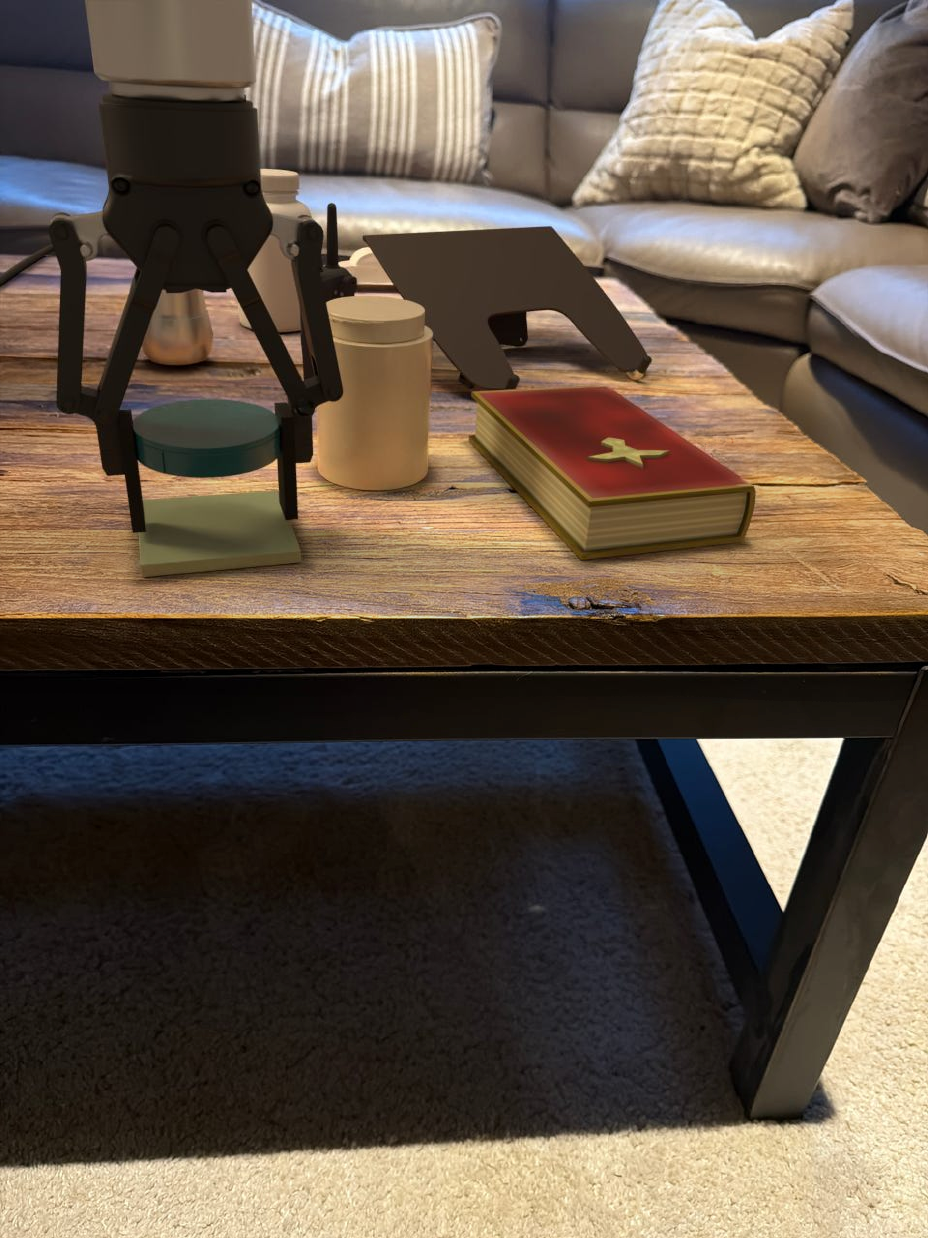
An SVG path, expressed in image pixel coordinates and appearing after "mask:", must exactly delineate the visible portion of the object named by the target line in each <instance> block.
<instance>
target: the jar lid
mask: <svg viewBox="0 0 928 1238" xmlns="http://www.w3.org/2000/svg"><path fill="white" fill-rule="evenodd" d="M133 433H134V441H135V448H136V456H137V460H138V463H140V464H141V465H142V466H144V467H146V468H147V469H149V470H151V471H154V472H157V473H160V474H164V475H169V476H174V477H180V478H190V479H191V478H192V479H193V478H194V479H210V478H211V479H212V478H226V477H232V476H234V477H235V476H239V475H243V474H248V473H251V472H254V471H258V470H261V469H263V468H265V467H267V466H270V465H271V464H272V463H274V462H275V461H277V458H278V457H279V455H280V453H281V434H280V422H279V419H278V417H277V415H276V414H275V412H273V411H272V410H270V409H268V408H266V407H263V406H261V405H258V404H255V403H251V402H245V401H240V400H232V399H218V398H216V399H214V398H208V399H207V398H205V399H203V398H202V399H201V398H200V399H188V400H181V401H179V400H178V401H174V402H167V403H165V404H164V403H163V404H161V405H157V406H154V407H151V408H149V409H146V410H144V411H142V412H141V413H139V414H137V416H136V417H135V418H134V419H133Z"/></svg>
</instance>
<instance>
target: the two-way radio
mask: <svg viewBox="0 0 928 1238" xmlns="http://www.w3.org/2000/svg"><path fill="white" fill-rule="evenodd" d="M338 231H339V230H338V211H337V205H336V203H333V202H330V203H328V204H327V206H326V264H325V265H324V261H323V258H322V256H321V259H320V266H319V270H320V275H321V280H322V285H323V290H324V295H325V300H326V302H328V301H330V300H333V299H337V298H342V297H351V296H355V293H356V292H357V289H358V284H357V278H356V277H354V276H352V274H350V273H349V271H348V270H347V269H345V268H344V267H340V266H339V264H338V262H339V232H338ZM300 323H301V330H300V347H301V359H302V376H303V378H302V380H303V381H304V380H307V379H309V378H312V377H314V376H315V375H314V371H313V366H312V361H311V357H310V352H309V347H308V343H307V338H306V333H305V329H304V324H303V319H302V315H301V310H300Z"/></svg>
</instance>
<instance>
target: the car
mask: <svg viewBox="0 0 928 1238" xmlns="http://www.w3.org/2000/svg"><path fill="white" fill-rule="evenodd" d="M338 264H339V266H340V267H344V268H345V269H347V270H348V271H349V273H350V274H352V276H354V277H356V278H357V285H373V286H394V285H393V283H392V282H391V280H390V279H389V277H388V276H387V274H386V273H385V271H384V269H383V268H382V266H381V265H380V263H379V262H378V260H377V258H376V257H375V255H374V254H373V252H372V251H371V249H370V247H369V246H368V247H361V248H359V249H357V250H355V251H354V252H353V253H352V254H351V256H350V257H349V260H342V261H338Z"/></svg>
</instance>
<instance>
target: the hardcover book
mask: <svg viewBox="0 0 928 1238" xmlns="http://www.w3.org/2000/svg"><path fill="white" fill-rule="evenodd" d="M470 393H471V394H470V397H471V398H472V399H473V400H474V401H475V402H476V415H475V416H476V417H475V431H474V434H473V435H472V434H471V435H470V434H469V435H468V439H467V440H468V441H469V443H470V444H472V446H473V447H474V448H475V449H476V450H477V451H478V452H479V453H480V454H481V455H482V456H483V457H484V458H485V460H487V462H488V463H489V464H490V465H491V466H492V467H493V468H494V469H495V470H496V471H497V473H499V475H501V476H502V478H503V479H504V480H505V481H506V482H507V483H508V484H509V485H510V486H511V487H512V488H513V490H515V491H516V492H517V493H518V494H519V496H520V497H521V498H522V499H523V500H524V501H525V502H526V503H527V504H528V505H529V506H530V507H531V508H532V509H533V511H535V512H536V514H537V515H538V516H539V517H540V518H541V519H542V520H543V521H544V522H545V523H546V524H547V526H548V527H549V528H551V530H552V531H553V532H554V534H556V535H557V536H558V537H559V538H560V539H561V540H562V541H563V543H565V545H567V547H568V548H569V549H570V550H571V551H572V552H573V553H574V554H575V555H576V556H577V557H578V559H580V560H581V561H585V560H595V559H603V558H610V557H611V558H613V557H622V556H629V555H638V554H645V553H655V552H656V553H657V552H662V551H663V552H665V551H672V550H681V549H689V548H690V549H692V548H700V547H708V546H717V545H723V544H734V543H735V544H736V543H741V542H742V541H743V540H744V538H745V537H746V536H747V533H748V531H749V528H750V525H751V522H752V519H753V515H754V512H755V510H754V509H755V505H756V494H757V492H756V488H755V485H753V484H751V483H750V482H749V481H747V480H746V479H744V478H743V477H742V476H740V475H739V474H737V473H736V472H734V471H732V470H731V469H730V468H728V467H727V466H725V465H724V464H723V463H721V462H720V461H718V460H717V459H715V458H713V456H711V455H709V454H708V453H706V452H705V451H703V450H702V449H701V448H699V447H698V446H696V445H695V444H694V443H692V442H690V441H689V440H688V439H686V438H685V437H683V436H681V435H680V434H679V433H677V432H676V431H674V430H673V429H672V428H670V427H668V426H667V425H665V424H664V423H662V422H661V421H660V420H658V419H657V418H655V417H654V416H652V415H651V414H650V413H648V412H646V411H645V410H643V409H642V408H640V407H639V406H638V405H636V404H635V403H634V402H632V401H631V400H630V399H628V398H626V397H624V396H623V395H621V393H619V392H618V391H615V390H614V389H613V388H612V387H610V386H608V384H592V385H573V386H553V387H552V386H551V387H535V388H533V387H532V388H516V389H513V390H493V391H489V390H479V391H478V390H476V391H471V392H470Z"/></svg>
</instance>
